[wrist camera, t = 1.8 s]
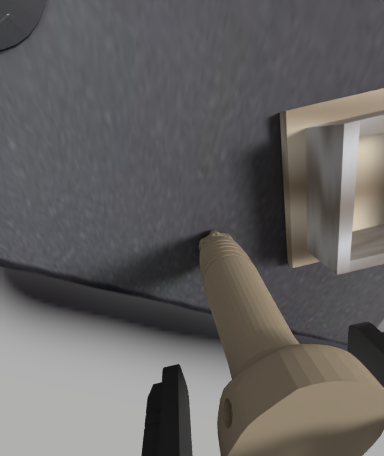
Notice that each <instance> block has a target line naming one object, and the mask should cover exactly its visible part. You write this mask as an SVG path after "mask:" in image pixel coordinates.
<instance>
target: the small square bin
mask: <svg viewBox="0 0 384 456" xmlns="http://www.w3.org/2000/svg"><path fill="white" fill-rule="evenodd" d="M280 128H281V147H282V166H283V184H284V203H285V222H286V240H287V259H288V264H289V265H290V266H291V267H292V268H295V267H299V266H303V265H307V264H312V263H316V262H321V263H323V264H324V265H325V266H326V267H328V268H329V269H330V270H332V271H333V272H334V273H335V274H337V275H338V274H342V273H347V272H351V271H355V270H359V269H364V268H368V267H372V266H376V265H380V264H384V88H382V89H378V90H374V91H370V92H365V93H361V94H357V95H352V96H348V97H344V98H339V99H335V100H331V101H327V102H322V103H318V104H314V105H309V106H305V107H301V108H297V109H292V110H288V111H284V112H280Z"/></svg>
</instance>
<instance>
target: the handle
mask: <svg viewBox="0 0 384 456" xmlns="http://www.w3.org/2000/svg"><path fill="white" fill-rule="evenodd" d="M199 250H200V257H199V259H200V270H201V277H202V282H203V286H204V290H205V293H206V296H207V299H208V302H209V305H210V308H211V311H212V314H213V317H214V320H215V323H216V327H217V330H218V333H219V336H220V339H221V342H222V346H223V349H224V352H225V355H226V358H227V361H228V365H229V369H230V373H231V377H232V380H231V381H230V382H229V383H228V385H227V386H226V387H225V388H224V390H223V393H222V396H221V399H220V405H219V412H218V422H217V426H218V438H219V446H220V452H221V456H362V455H363V454H364V453H365V452H366V451H367V450H368V449H369V448H370V447H371V446H372V445H373V444H374V443H375V442H376V440H377V439H378V438H379V437H380V436H381V434H382V432H383V430H384V388H383V386H382V385H381V384H380V383H379V382H378V381H377V379H376V378H375V377H374V376H373V375H372V374H371V373H370V372H369V370H368V369H367V368H366V367H365V366H364V365H363V364H362V363H361V362H360V361H359V360H358V359H357V358H356V357H354V356H353V355H352V354H351V353H349V352H347V351H345V350H342V349H340V348H335V347H332V346H327V345H319V344H299V343H298V341H297V340H296V339H295V337H294V336H293V334H292V332H291V330H290V329H289V327H288V325H287V323H286V322H285V320H284V318H283V316H282V315H281V313H280V311H279V309H278V308H277V306H276V304H275V302H274V300H273V299H272V297H271V295H270V293H269V291H268V289H267V288H266V286H265V284H264V282H263V280H262V278H261V277H260V275H259V273H258V271H257V269H256V267H255V266H254V264H253V263H252V261H251V260H250V258H249V257H248V255H247V254H246V253H245V252H244V251H243V249H242V248H241V247H240V246H239V245H238V244H237V243H236V242H235V241H233V239H232V237H231V236H230V235H228V234H227V233H219V232H217V231H216V230H212V231H211V232H210V233H209V235H208V236H206V237H205V238H202V239H201V240H200V242H199Z"/></svg>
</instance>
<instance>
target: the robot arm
mask: <svg viewBox="0 0 384 456" xmlns="http://www.w3.org/2000/svg"><path fill="white" fill-rule="evenodd" d="M45 1H46V0H0V49H5V48H8V47H11V46H13V45H16V44H18V43H19V42H21V41H22V40H23V39H24V38H26V37H27V36H28V35H29V34H30V33H31V32H32V30H33V29H34V28H35V26H36V25H37V23H38V22H39V19H40V17H41V14H42V12H43V9H44V7H45ZM348 352H349V353H351V354H352V355H353V356H354V357H356V358H357V359H358V360H359V361H360V362H361V363H362V364H363V365H364V366H365V367H366V368H367V369H368V370H369V372H370V373H371V374H372V375H373V376H374V377H375V378H376V379H377V381H378V382H379V383H380V384H381V385H382V386H383V388H384V332H383V333H382V332H380V331H379V330H378V329H377V328H376V327H375V326H374V325H373V324H371V323H369V322H363V323H359V324H354V325H350V326H349V332H348ZM162 374H163V375H162V382H161V383H157V384H154V385H153V387H152V389H151V392H150V394H149V396H148V399H147V409H146V419H145V429H144V438H143V448H142V456H192V441H191V426H190V408H189V396H188V390H187V385H186V382H185V379H184V376H183V373H182V370H181V367H180V365H179V364H177V365H173V366H168V367H164V368H163V373H162Z"/></svg>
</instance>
